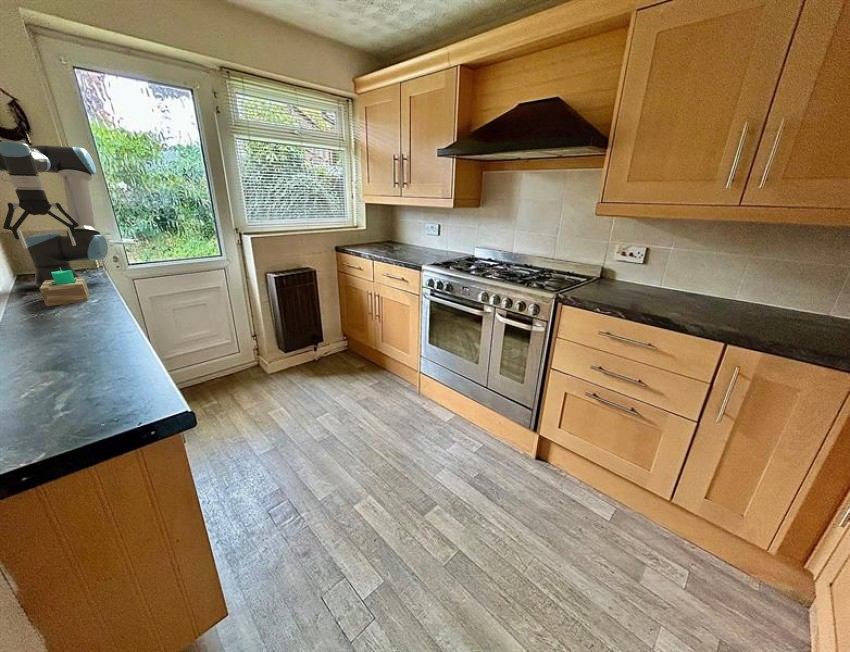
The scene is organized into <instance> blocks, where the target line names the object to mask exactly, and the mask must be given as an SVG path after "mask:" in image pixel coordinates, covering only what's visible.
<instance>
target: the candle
mask: <svg viewBox="0 0 850 652" xmlns="http://www.w3.org/2000/svg"><path fill="white" fill-rule="evenodd" d="M60 269H61V268H60ZM51 274H52V276H53V279H54V282H55V284H56V285H61V284H70V283H75V279H74V276H73V273H72V270H67V271H56V272H51Z"/></svg>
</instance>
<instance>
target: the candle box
mask: <svg viewBox="0 0 850 652" xmlns="http://www.w3.org/2000/svg"><path fill="white" fill-rule="evenodd" d="M74 279H75V283H70V284H61V285H56V284H55V282H54V280H47V281H44V282H43V284H42V286H41V287H40V288H39V291H40V294H41V296H42V299H43V301H44V304H45V307H51V306H59V305H67V304H75V303H82V302H88V301H89V297H90V291H89V288H88V286H87V285H88V284H87V281H86V279H85V277H84V276H81V277H80V276H79V277H78V278H74Z"/></svg>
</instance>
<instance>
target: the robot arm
mask: <svg viewBox="0 0 850 652" xmlns="http://www.w3.org/2000/svg"><path fill="white" fill-rule="evenodd" d="M0 172H8V175H9V178H10V181H11V184H12V186H13V188H16V189H15V190H14V192H15V194H16V197H17V199H18V202H19V203H16V202H8V203H7V208H8V210H7V212H6V217H5V220H4V224H3V226H2V228H3V229H4V230H9V231H11V232H12V234H13V237H14V238H15V240H16V241H17V240H19V241H20V243H21V246H22V249H23V250H25V249H27V251H28V254H29V256H30V259H31V261H32V263H33V266H34V268H35V274H34V275H35V277H34V284H35V286H36V288H37V289H38V288H39V289H40V287H41V286H42V284H43V282H44V281H47V280H54V279H53V276H52V274H51V272H56V271H67V270H72V273H73V276H74V278H78V277H80V275H78V273H77V272H76V271H75V270H74V269H73V267H72V266H71V263H70V262H83V261H98V260H99V261H100V260H103V259H105V258H106V257H107V255H108V249H109V247H108V242H107V238H106V237H105V236H104V235H102V234H101V232H100V230H99V231H98V230H97V229H96V225H95V217H94V211H93V205H92V198H91V191H90V186H89V182H90V181H92V179H93V177H92V175H93V176H94V175H96V174H97V169H96V165H95V163H94V160H93V158H92V156H91V155H90V153H89V152H88V151H87V150H86V149H85V148H83V147H77V146H61V145H60V146H58V145H45V144H43V145H42V144H41V145H28V144H27V143H25V142H16V141H0ZM39 173H49V174H50V173H51V174H52V173H54V174H57V175H58V176H59V177H60V178H62V179H63V180H62V181H63V186H64V194H65V200H66V202H65V203H66V207H67V211H66V210H65V209H64V208H63V206H62V204H61V202H58V201H57V202H52V203H50V202H49V199H48V196H47V194H46V191H45V190H44V189H43V188H44V186H43V183H42V179H41V177H40V174H39ZM52 207H54V208H55V209H57V210H58V211H59V212H60V213H61V214H62V215H64V217H65V218H66V219H67V220H68V221H69V222H68V221H67V220H65V219H64V218H62V217H60V216H59V215H57V214H56V213H55V212H54V211H52V210H51V209H52ZM18 208H20V209H22V210H23V212H22V214H21V216H19V218H18V219H17V221H16V222H15V223H14V224H13V225H12V226H11V224H12V220H13V217H14V215H15V214H14V213H15V211H16V210H17V209H18ZM29 215H31V216H38V215H39V216H46V215H49V216H50V217H52V218H54V219H55V220H56V221H58V222H59V223H61V224H62V225H64V226H65V227H67V229H66V235H61V233H60V232H50V233H42V234H36V235H31V236H29V235H28V236H26V237H25V238H24V235H23V232H22V230H19V228H20V226H21V225H22V224H23V223H24V221H25V220H26V219H27V218H28V216H29ZM60 268H61V269H60Z"/></svg>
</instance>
